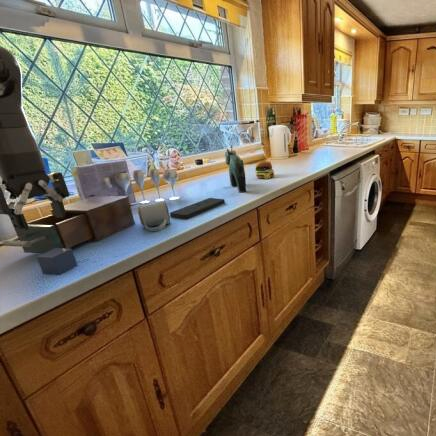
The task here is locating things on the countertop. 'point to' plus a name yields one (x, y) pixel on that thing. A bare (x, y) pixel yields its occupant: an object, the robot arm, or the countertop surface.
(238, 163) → the dark green animal figure
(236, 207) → the countertop surface
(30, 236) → the drawer
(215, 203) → the smart home device
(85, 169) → the cake pan box
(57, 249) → the block
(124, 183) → the goblet set
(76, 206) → the cabinet
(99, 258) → the countertop surface
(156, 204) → the ceramic mug
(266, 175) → the cheeseburger
